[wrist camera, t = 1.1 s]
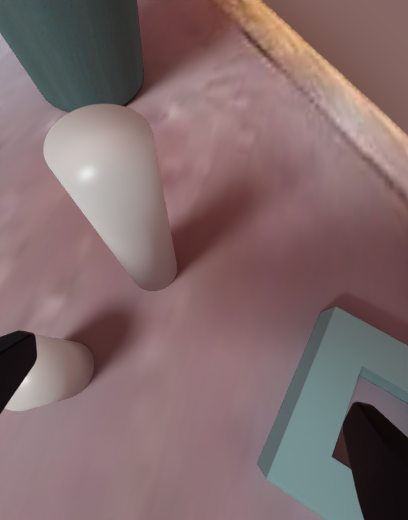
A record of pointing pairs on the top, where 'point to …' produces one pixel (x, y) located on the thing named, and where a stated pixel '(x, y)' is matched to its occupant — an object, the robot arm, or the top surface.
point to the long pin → (117, 186)
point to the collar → (329, 411)
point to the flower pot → (77, 48)
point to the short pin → (54, 374)
